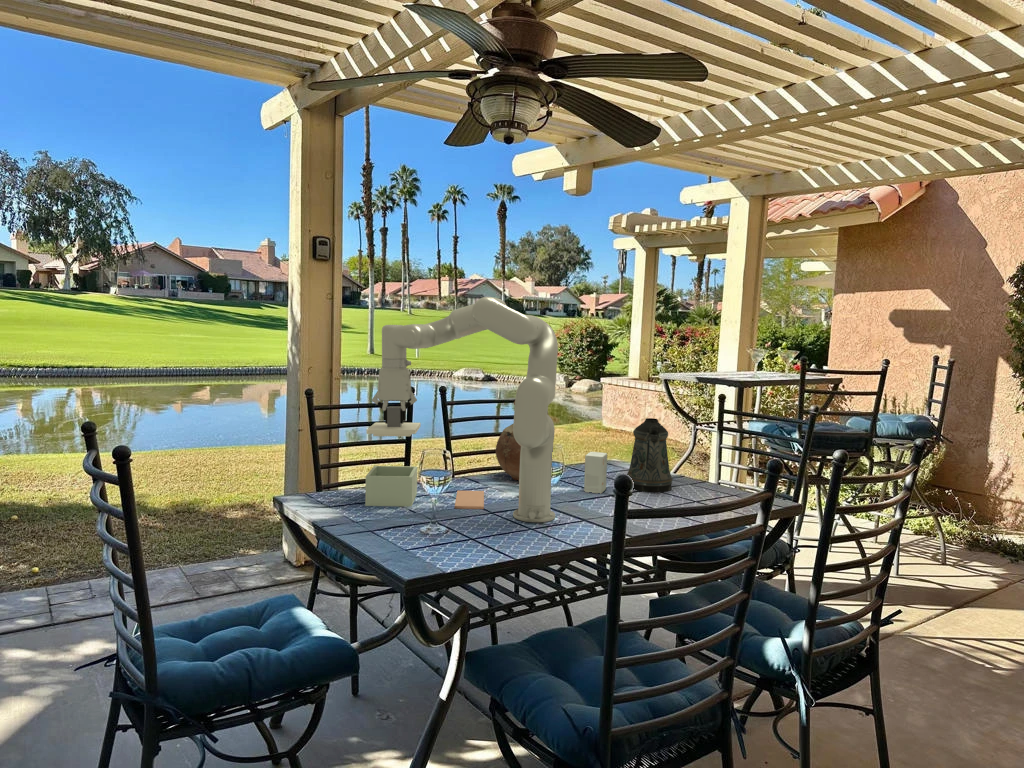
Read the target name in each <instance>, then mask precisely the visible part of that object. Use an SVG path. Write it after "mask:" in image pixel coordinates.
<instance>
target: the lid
mask: <svg viewBox="0 0 1024 768" xmlns="http://www.w3.org/2000/svg"><path fill="white" fill-rule="evenodd" d="M401 409H402V407H401V405H400V406H399V405H398V406H396V405H395V406H393V405H391V406H390V405H388V407H387V424H385V422H374V423H373V424H372V425H370V426H369V427H368V428H367V429H366V435H372V436H373V437H411V436H412V435H416V434H417V433H418V431H419V429H420V428H421V425H422V424H421V422H404V423H403V424H401V423H400V411H401Z"/></svg>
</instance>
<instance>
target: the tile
mask: <svg viewBox="0 0 1024 768" xmlns="http://www.w3.org/2000/svg"><path fill="white" fill-rule="evenodd" d="M454 502H455V503H454V506H453V509H455V510H456V509H457V510H460V509H463V510H484V508H485V491H484V490H457V491H456V497H455V501H454Z"/></svg>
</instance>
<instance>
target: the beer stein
mask: <svg viewBox="0 0 1024 768" xmlns="http://www.w3.org/2000/svg"><path fill="white" fill-rule="evenodd" d="M632 433H633V436H634V442H633V448H632V451H631V453H632V454H631V459H630V464H629V468H628V471H627V474H626V475H629V476H630V477H631V478H632V480H633V482H634V488H633V491H636V490H637V492H642V491H643V493H657V494H658V493H666V492H669V491H670V490H671V489H672V486H673V485H672V484H673V477H672V474H671V470H670V464H669V457H668V454H669V453H668V446H667V439H668V437H669V432H668V430H667V429H666V428H665V426H663V425H662V424H661V422H659V419H658V418H652V417H651V418H649V417H647V418H645V419H644V421H643V422H642V423H641V424H639V425H638V426H637V427H635V428H634V429H633V432H632ZM634 489H635V490H634Z"/></svg>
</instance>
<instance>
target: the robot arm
mask: <svg viewBox="0 0 1024 768" xmlns="http://www.w3.org/2000/svg"><path fill="white" fill-rule="evenodd" d="M488 330H489V331H490V332H491V333H494V334H496V335H498V336H500V337H502V338H503V339H505V340H507V341H509V342H511V343H513V344H517V345H521V346H522V345H528V346H529V347H528V348H529V354H528V360H527V370H526V371H527V373H526V378H525V379H523V380H522V381H521V382H520V383H519V385H518V387H517V389H516V392H515V393H516V394H515V399H514V402H515V405H514V413H513V415H514V416H513V423H512V424H513V434H514V438H515V440H516V441H517V443H518V444H519V445H520V446H521V452H520V474H519V481H518V509H515V510H514V511H513V513H512V516H513V518H514V519H516V520H518V521H522V522H526V523H547V522H552V521H553V520H555V518H556V513H555V512H554V511H552V510H551V503H552V502H551V500H552V498H551V497H552V496H551V494H552V469H553V459H552V452H553V448H554V441H555V440H554V439H555V430H556V429H555V424H554V421H553V419H552V417H551V416H550V415H549V405H550V404H551V403H552V402H553V401H554V399H555V395H556V381H557V372H558V371H557V370H558V368H557V365H558V352H559V349H558V347H559V344H558V339H557V336H556V334H555V331H554V330H553V328H552V327H551V326H550V325H549V324H548V322H546V321H544V320H543V319H542V318H540V317H539V316H535V315H531V314H524V313H521V312H519V311H517V310H515V309H513V308H511V307H509V306H508V305H507V304H506V302H505V301H504V300H502V299H501V298H498V297H493V296H483V297H481V298H479V299H477V300H476V302H474V303H472V304H469V305H466V306H463V307H459V308H455V309H453V310H452V311H451V312H450V314H448V315H447V316H445V317H444V318H442V319H438V320H435V321H432V322H428V323H425V324H424V323H412V324H405V325H403V324H385V325H383V326H382V328H381V368H380V369H379V371H378V372H379V373H378V380H377V392H375V394H374V395H373V396H372V398H371V402H372V403H374V404H375V405H377V406H378V407H379V408H380V409H381V410H382V411H383V415H382V417H383V419H382V420H383V421H384V423H385V424H387V407H389V402H400V406H401V407H402V409H401V411H400V423H401V424H403V423H405V422H404V421H406V419H407V418H406V415H407V414H406V410H407V409H408V408H409V407H410V406H411V405H414V403H416V402H417V401H418V399H417V398H416V396H415V394H414V393H413V391H412V380H411V372H410V369H409V368H407V367H408V366H412V360H408V359H407V349H412V350H415V349H416V350H418V349H419V350H420V349H428V348H429V349H430V348H432V347H436V346H439V345H442V344H446V343H449V342H452V341H454V340H459V339H461V338H464V337H467V336H470V335H474V334H477V333H479V332H484V331H488ZM547 413H548V414H547Z"/></svg>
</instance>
